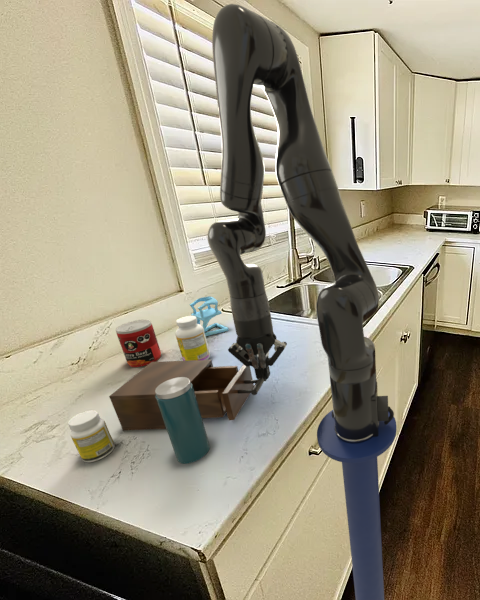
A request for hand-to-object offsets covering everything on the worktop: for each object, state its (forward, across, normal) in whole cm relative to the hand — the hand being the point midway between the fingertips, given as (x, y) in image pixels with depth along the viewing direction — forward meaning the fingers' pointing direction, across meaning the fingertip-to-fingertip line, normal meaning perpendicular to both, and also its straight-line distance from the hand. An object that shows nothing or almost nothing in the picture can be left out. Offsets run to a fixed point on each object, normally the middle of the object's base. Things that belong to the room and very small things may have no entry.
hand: (264, 379), depth 77 cm
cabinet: (+4, -18, -5) cm, 19 cm away
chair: (+4, -30, +34) cm, 45 cm away
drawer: (+3, -7, -5) cm, 9 cm away
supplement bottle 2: (+4, -24, +16) cm, 29 cm away
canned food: (+4, -40, +17) cm, 43 cm away
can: (+3, -8, -18) cm, 20 cm away
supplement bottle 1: (+4, -25, -17) cm, 31 cm away
